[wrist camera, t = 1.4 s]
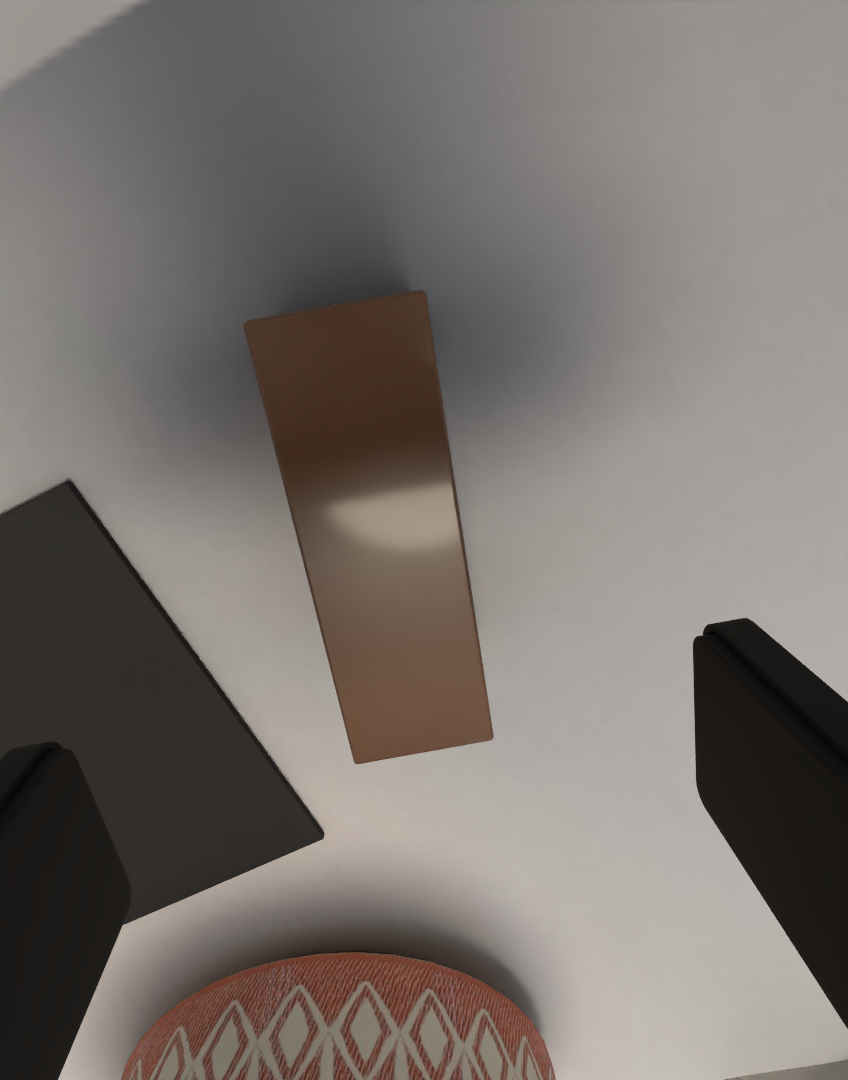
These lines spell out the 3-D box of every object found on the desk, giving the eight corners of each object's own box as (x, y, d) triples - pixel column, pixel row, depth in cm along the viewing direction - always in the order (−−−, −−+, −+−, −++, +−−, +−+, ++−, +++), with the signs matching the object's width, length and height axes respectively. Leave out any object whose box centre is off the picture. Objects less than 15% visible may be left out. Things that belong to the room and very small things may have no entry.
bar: (275, 314, 18) (241, 322, 14) (413, 290, 18) (425, 289, 14) (359, 669, 23) (354, 766, 18) (470, 649, 23) (494, 740, 18)
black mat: (-243, 641, 21) (-251, 646, 21) (70, 480, 20) (65, 482, 19) (66, 944, 27) (62, 951, 26) (324, 832, 25) (323, 839, 25)
